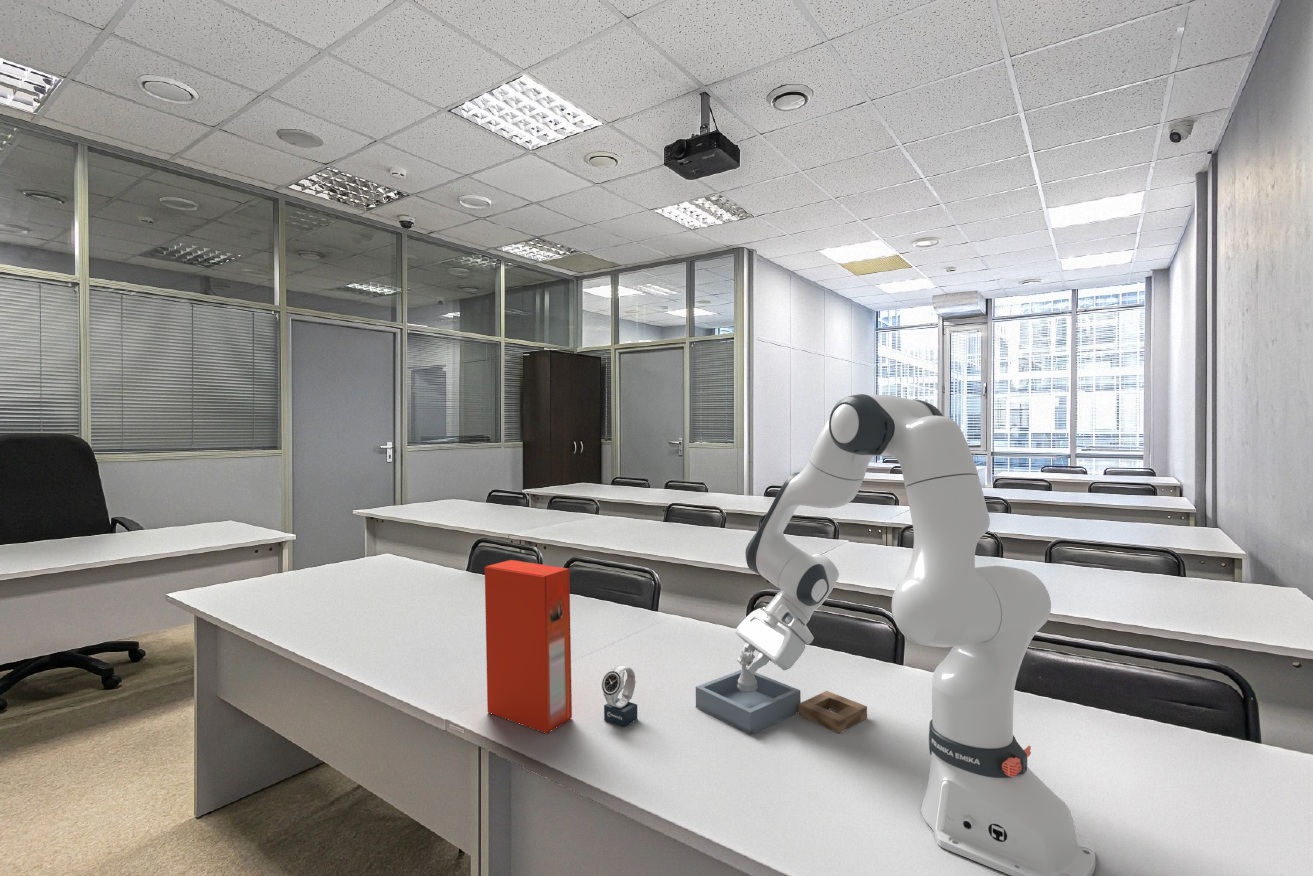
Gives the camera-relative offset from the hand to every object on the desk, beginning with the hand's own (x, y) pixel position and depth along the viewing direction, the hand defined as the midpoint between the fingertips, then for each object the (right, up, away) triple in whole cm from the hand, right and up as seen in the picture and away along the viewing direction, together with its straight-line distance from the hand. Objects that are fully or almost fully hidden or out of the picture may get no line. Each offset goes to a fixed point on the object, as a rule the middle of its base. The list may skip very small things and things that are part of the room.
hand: (744, 667), depth 131 cm
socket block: (+18, -9, -4) cm, 21 cm away
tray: (+1, -9, 0) cm, 9 cm away
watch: (-27, -10, -4) cm, 29 cm away
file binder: (-47, -10, -2) cm, 48 cm away
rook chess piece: (+1, -5, 0) cm, 5 cm away
